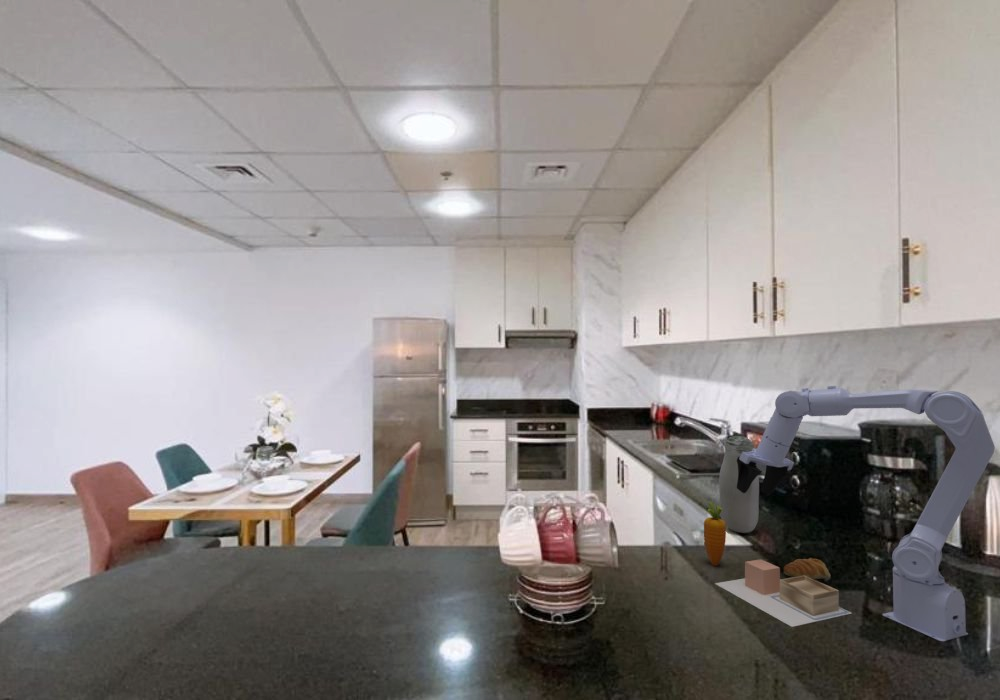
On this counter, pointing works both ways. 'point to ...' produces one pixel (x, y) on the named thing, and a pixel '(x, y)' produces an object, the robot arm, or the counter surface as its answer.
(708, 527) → the carrot
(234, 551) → the counter surface
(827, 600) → the maple base block
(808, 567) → the pastry
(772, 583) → the terracotta block
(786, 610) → the board
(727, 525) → the glass bottle
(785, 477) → the robot arm
